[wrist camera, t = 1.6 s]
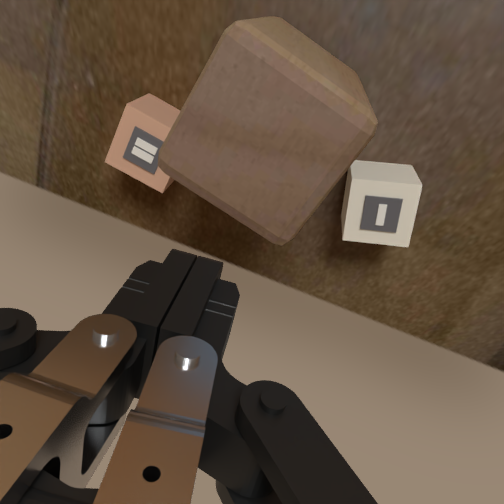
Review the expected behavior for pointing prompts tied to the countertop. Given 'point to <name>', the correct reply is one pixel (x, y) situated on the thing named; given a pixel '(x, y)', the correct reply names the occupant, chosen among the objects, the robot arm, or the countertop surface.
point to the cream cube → (380, 203)
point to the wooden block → (268, 127)
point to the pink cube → (143, 140)
